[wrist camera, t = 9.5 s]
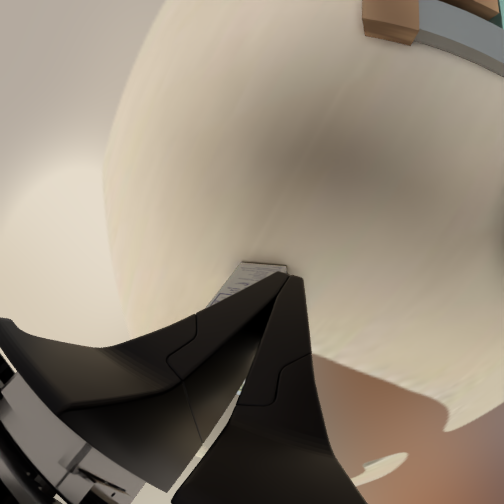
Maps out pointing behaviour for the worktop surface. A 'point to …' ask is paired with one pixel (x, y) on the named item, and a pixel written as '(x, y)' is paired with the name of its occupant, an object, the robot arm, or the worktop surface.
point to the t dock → (463, 33)
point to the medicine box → (245, 282)
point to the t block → (411, 17)
